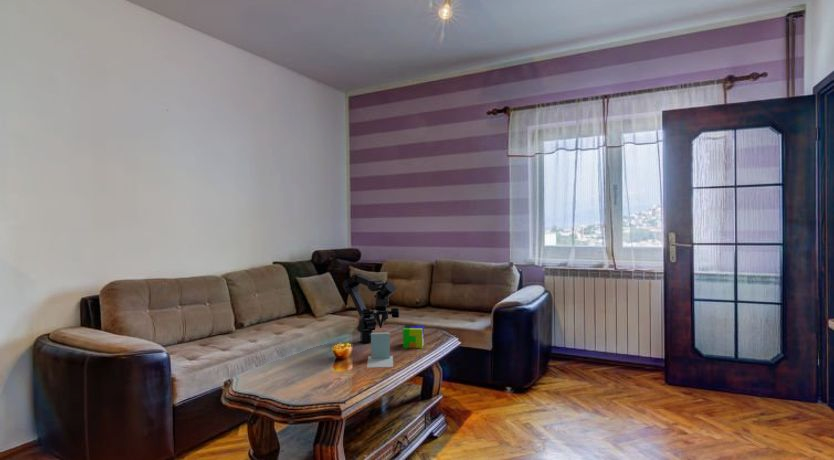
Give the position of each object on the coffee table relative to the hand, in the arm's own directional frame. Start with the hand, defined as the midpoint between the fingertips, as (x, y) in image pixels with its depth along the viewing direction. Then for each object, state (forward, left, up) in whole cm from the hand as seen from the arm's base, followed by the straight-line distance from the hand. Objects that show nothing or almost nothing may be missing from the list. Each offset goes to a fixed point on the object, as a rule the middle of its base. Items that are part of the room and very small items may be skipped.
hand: (380, 327), depth 230 cm
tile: (+6, -7, -13) cm, 15 cm away
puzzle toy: (+5, +21, -14) cm, 26 cm away
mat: (+9, -11, -13) cm, 19 cm away
